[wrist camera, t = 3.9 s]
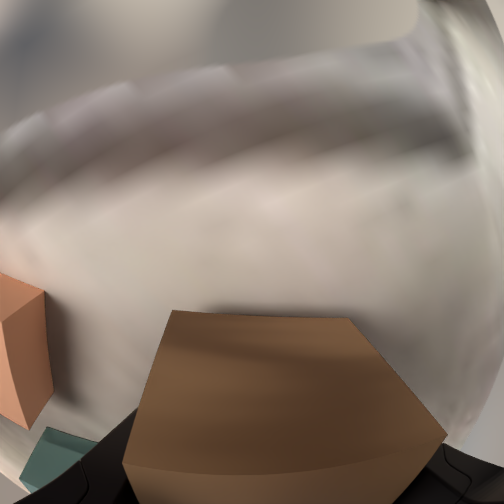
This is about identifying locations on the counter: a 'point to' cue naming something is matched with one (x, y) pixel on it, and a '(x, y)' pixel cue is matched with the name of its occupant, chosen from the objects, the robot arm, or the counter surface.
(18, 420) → the terracotta carton
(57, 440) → the tote
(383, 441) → the walnut block
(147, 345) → the counter surface
